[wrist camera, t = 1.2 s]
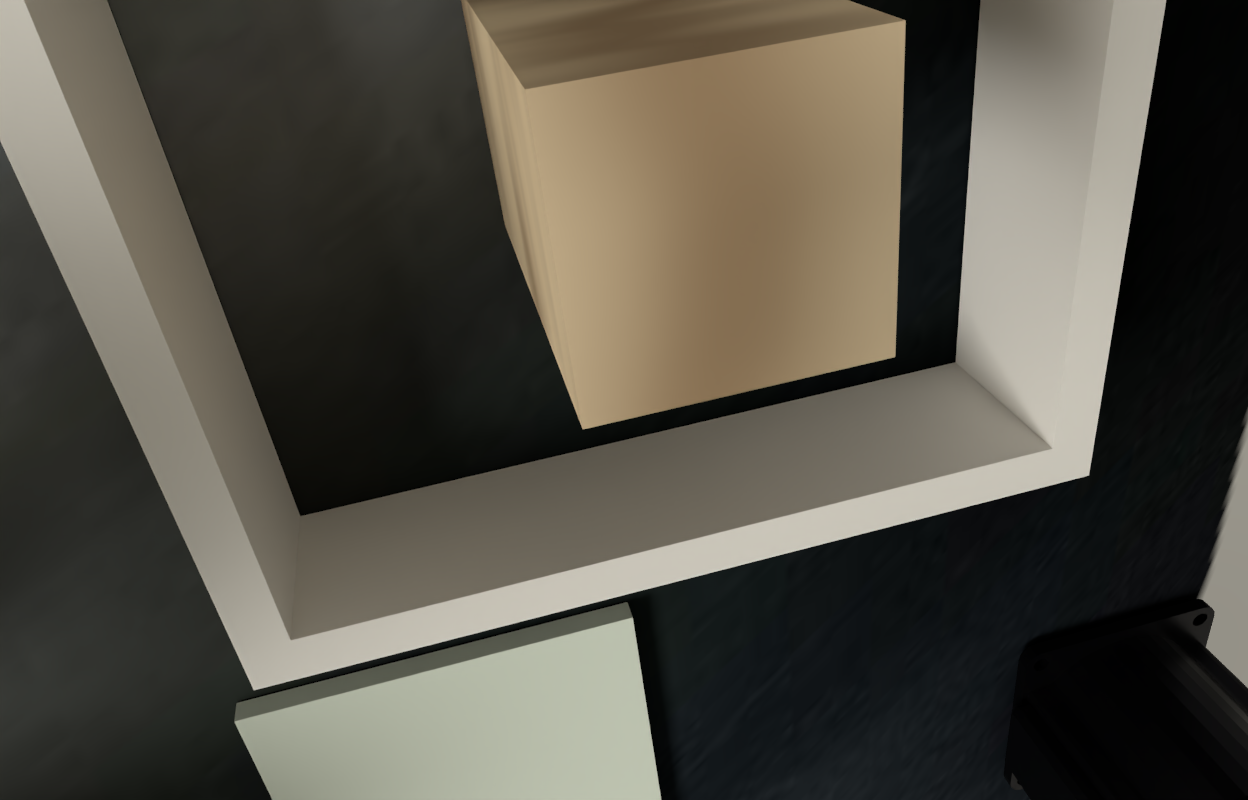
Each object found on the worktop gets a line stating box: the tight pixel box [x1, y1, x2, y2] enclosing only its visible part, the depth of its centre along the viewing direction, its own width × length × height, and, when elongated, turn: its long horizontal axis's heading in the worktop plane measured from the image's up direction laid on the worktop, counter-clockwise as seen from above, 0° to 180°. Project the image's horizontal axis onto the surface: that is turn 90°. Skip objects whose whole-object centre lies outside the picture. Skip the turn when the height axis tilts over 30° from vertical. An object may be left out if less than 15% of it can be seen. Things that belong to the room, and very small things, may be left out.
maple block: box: [461, 0, 906, 429], centre depth 16 cm, size 4×4×8 cm
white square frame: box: [0, 0, 1166, 690], centre depth 17 cm, size 18×18×4 cm
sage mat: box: [234, 602, 661, 800], centre depth 27 cm, size 10×10×1 cm
